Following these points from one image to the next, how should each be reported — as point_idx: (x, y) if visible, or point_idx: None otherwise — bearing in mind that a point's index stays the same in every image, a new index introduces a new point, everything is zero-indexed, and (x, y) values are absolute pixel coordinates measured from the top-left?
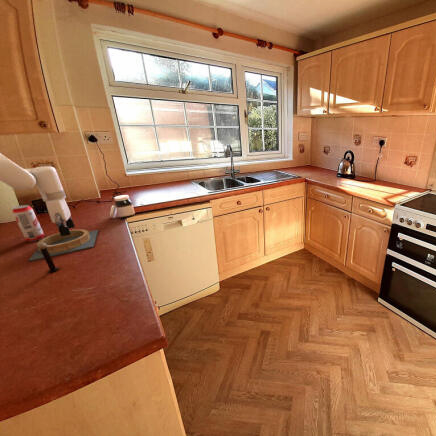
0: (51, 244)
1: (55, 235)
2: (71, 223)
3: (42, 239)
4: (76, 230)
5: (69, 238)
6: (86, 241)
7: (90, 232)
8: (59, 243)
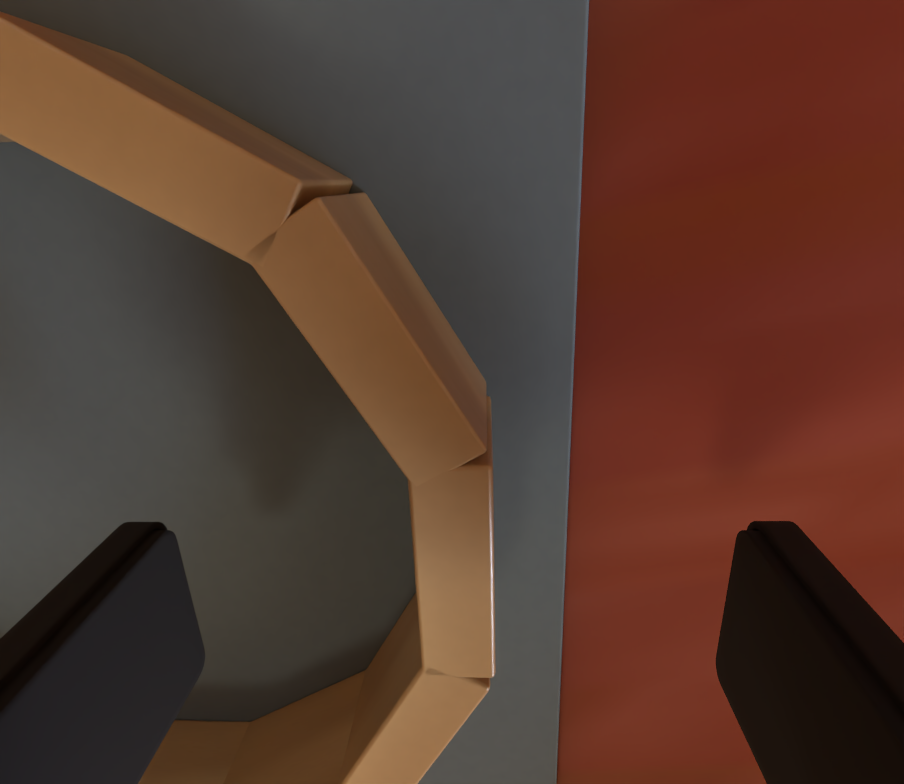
0: (180, 230)
1: (317, 348)
2: (781, 770)
3: (28, 76)
4: (382, 736)
5: (378, 494)
6: None
7: (501, 742)
8: (171, 376)
